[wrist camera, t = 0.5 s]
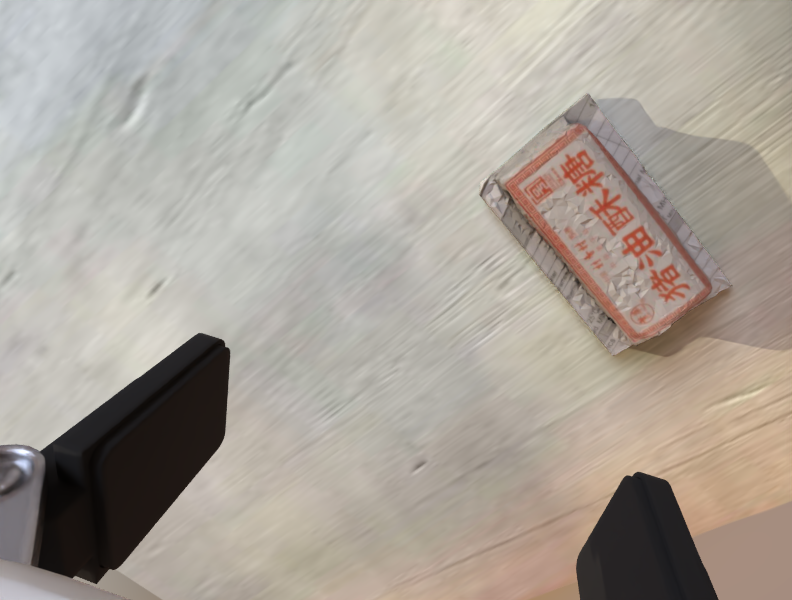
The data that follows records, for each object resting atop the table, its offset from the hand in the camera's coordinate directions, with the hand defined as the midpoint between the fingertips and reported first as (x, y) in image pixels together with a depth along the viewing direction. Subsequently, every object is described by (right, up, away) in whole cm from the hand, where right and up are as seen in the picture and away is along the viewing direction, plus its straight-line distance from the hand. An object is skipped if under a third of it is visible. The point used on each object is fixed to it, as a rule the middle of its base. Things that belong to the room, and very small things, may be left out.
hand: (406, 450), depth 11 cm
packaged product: (+16, +9, +26) cm, 31 cm away
